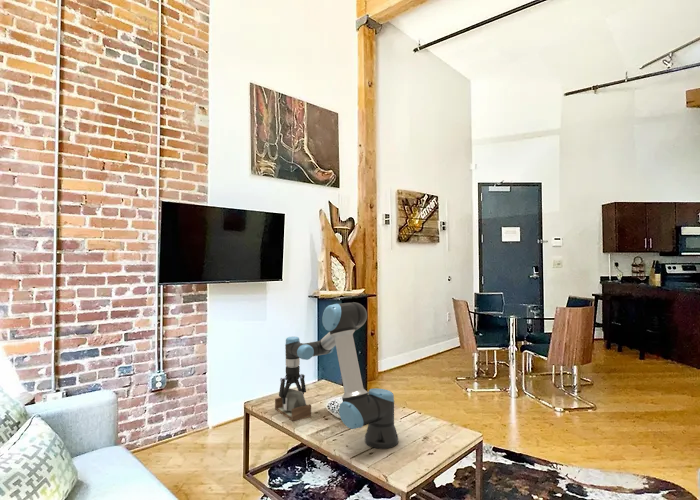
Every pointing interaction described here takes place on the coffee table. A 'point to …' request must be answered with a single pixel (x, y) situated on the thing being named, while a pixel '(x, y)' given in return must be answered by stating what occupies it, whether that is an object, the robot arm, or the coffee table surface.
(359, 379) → the robot arm
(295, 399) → the digital clock
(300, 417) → the cradle
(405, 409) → the coffee table surface
